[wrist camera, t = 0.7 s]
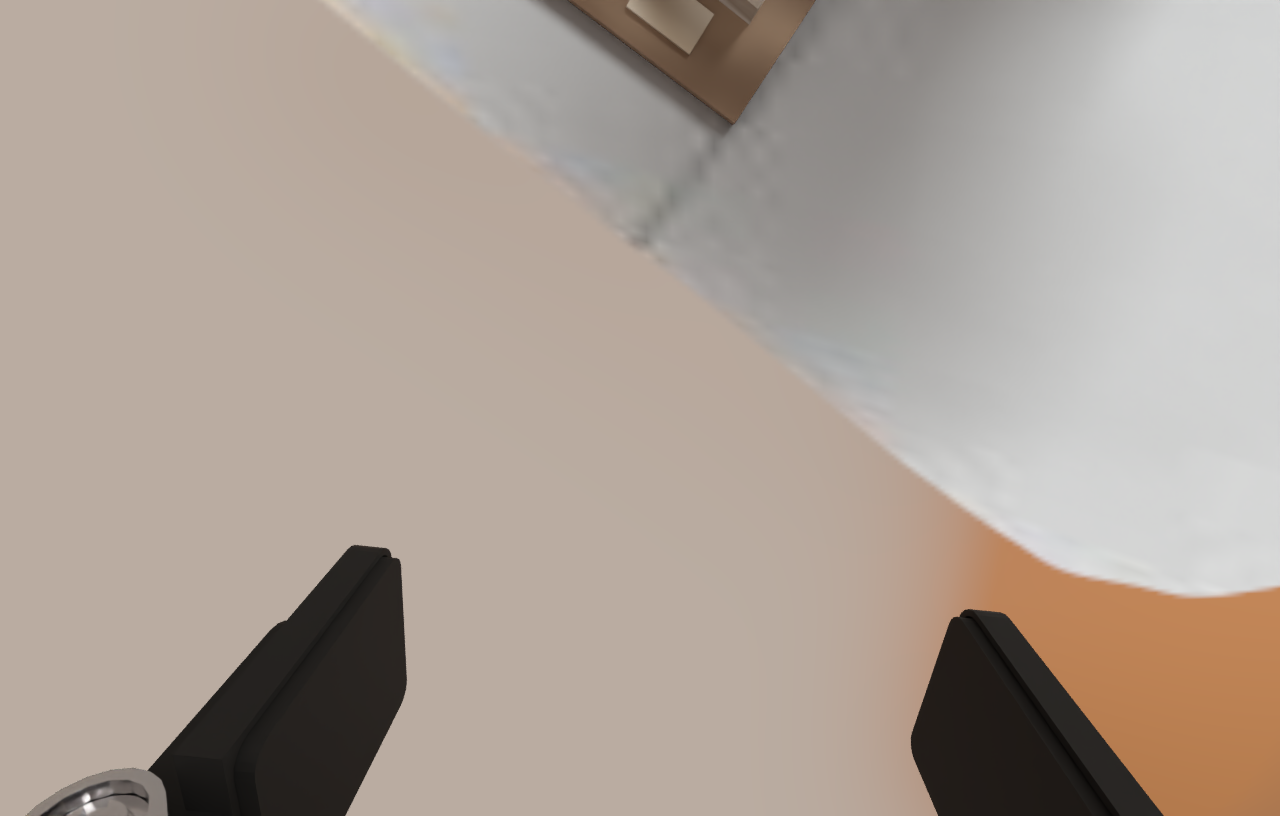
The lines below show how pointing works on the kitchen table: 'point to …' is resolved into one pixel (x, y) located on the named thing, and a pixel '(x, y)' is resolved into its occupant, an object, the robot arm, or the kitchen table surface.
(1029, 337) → the kitchen table surface
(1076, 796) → the robot arm
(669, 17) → the socket board
